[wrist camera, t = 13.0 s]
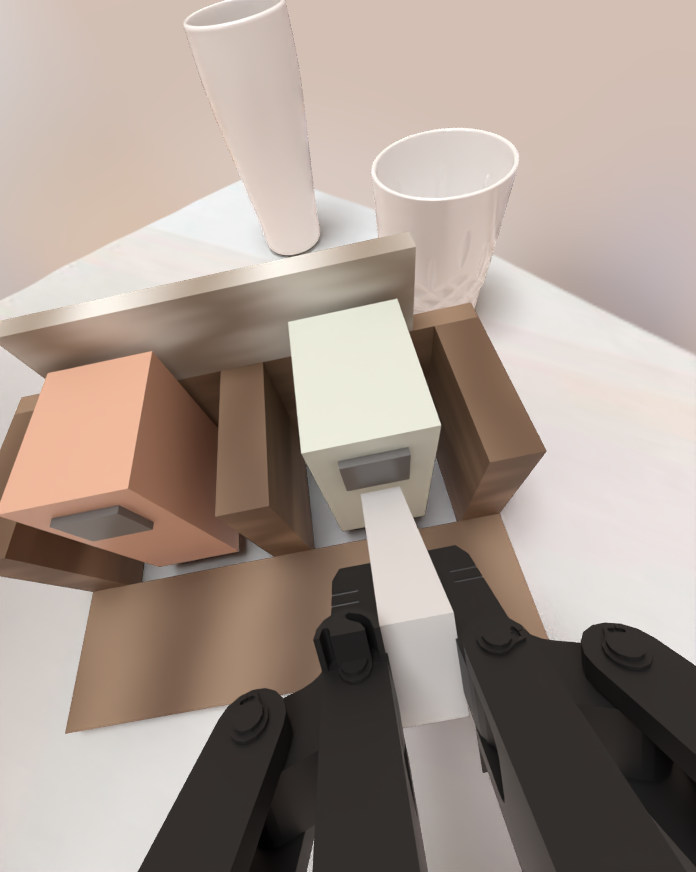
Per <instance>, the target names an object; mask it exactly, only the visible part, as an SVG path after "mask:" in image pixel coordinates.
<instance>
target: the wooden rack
mask: <svg viewBox="0 0 696 872" xmlns="http://www.w3.org/2000/svg"><path fill="white" fill-rule="evenodd" d="M415 258H416V246H415V243H414V241H413V239H412V237H411V234H410V232H409V231H408V232H403V233H399V234H394V235H390V236H385V237H380V238H376V239H371V240H367V241H362V242H358V243H353V244H349V245H344V246H339V247H335V248H330V249H326V250H321V251H317V252H312V253H307V254H303V255H298V256H294V257H289V258H285V259H280V260H276V261H271V262H266V263H262V264H257V265H253V266H248V267H244V268H239V269H234V270H230V271H225V272H221V273H216V274H212V275H207V276H203V277H198V278H193V279H189V280H184V281H180V282H175V283H171V284H166V285H161V286H157V287H152V288H148V289H143V290H139V291H134V292H130V293H125V294H120V295H116V296H111V297H107V298H102V299H98V300H93V301H88V302H84V303H79V304H75V305H70V306H66V307H61V308H57V309H52V310H47V311H43V312H38V313H34V314H29V315H25V316H20V317H15V318H11V319H6V320H2V321H0V346H2V347H3V348H4V349H6V350H7V351H8V352H10V353H11V354H12V355H14V356H15V357H16V358H18V359H19V360H21V361H22V362H23V363H25V364H26V365H27V366H29V367H30V368H31V369H33V370H34V371H35V372H37V373H38V374H39V375H41V376H42V377H43V378H45V379H46V376H47V374H48V373H51V372H56V371H61V370H66V369H70V368H75V367H80V366H84V365H89V364H94V363H98V362H103V361H108V360H112V359H117V358H122V357H126V356H131V355H136V354H140V353H145V352H150V351H153V353H154V354H155V355H156V356H157V357H158V359H159V360H160V361H161V362H162V363H163V364H164V366H165V367H166V368H167V369H168V370H169V371H170V373H171V374H172V375H173V376H174V377H175V378H176V380H177V381H178V382H179V383H180V384H181V386H182V387H183V388H184V389H185V390H186V391H187V393H188V394H189V395H190V396H191V397H192V398H193V400H194V401H195V402H196V403H197V404H198V405H199V407H200V408H201V409H202V410H203V411H204V412H205V414H206V415H207V416H208V417H209V418H210V420H211V421H212V422H213V423H214V424H215V425H216V427H217V428H218V455H217V481H216V508H215V517H216V518H218V519H219V520H221V521H222V522H224V523H225V524H227V525H228V526H230V527H231V528H233V529H234V530H236V531H237V532H238V533H240V534H241V535H243V536H244V537H246V538H247V539H249V540H250V541H252V542H253V543H255V544H256V545H258V546H259V547H261V548H262V549H263V550H265V551H266V552H268V553H269V554H271V555H272V556H274V557H271V558H266V559H261V560H256V561H250V562H245V563H240V564H235V565H230V566H225V567H219V568H214V569H209V570H204V571H199V572H193V573H188V574H183V575H178V576H173V577H167V578H162V579H157V580H152V581H147V582H142V574H143V567H144V562H142V561H139V560H136V559H133V558H129V557H126V556H123V555H120V554H117V553H114V552H110V551H107V550H104V549H101V548H98V547H95V546H91V545H88V544H85V543H82V542H79V541H76V540H72V539H69V538H66V537H63V536H60V535H57V534H54V533H50V532H47V531H44V530H41V529H38V528H35V527H31V526H28V525H25V524H22V523H19V522H16V521H12V520H9V519H6V518H3V517H0V576H2V577H8V578H14V579H20V580H26V581H32V582H38V583H44V584H50V585H56V586H62V587H68V588H74V589H80V590H86V591H92V592H93V596H92V601H91V606H90V611H89V616H88V621H87V626H86V631H85V636H84V641H83V646H82V651H81V656H80V661H79V666H78V672H77V677H76V682H75V687H74V692H73V697H72V702H71V707H70V712H69V717H68V722H67V727H66V732H65V734H67V733H72V732H78V731H83V730H89V729H94V728H100V727H105V726H111V725H116V724H122V723H128V722H133V721H139V720H144V719H150V718H155V717H161V716H166V715H172V714H177V713H183V712H189V711H194V710H200V709H205V708H211V707H216V706H222V705H227V704H232V703H233V702H234V701H235V700H236V699H237V698H238V697H240V696H241V695H243V694H245V693H247V692H249V691H251V690H255V689H261V688H268V689H271V690H275V691H277V692H278V693H279V695H283V694H288V693H294V692H297V691H299V690H301V689H302V688H304V687H306V686H307V685H309V684H310V683H312V682H313V681H314V680H315V679H316V678H317V677H318V676H319V675H320V674H321V672H322V670H321V666H320V663H319V659H318V656H317V652H316V648H315V645H314V641H313V639H314V636H315V632H316V629H317V628H318V627H319V626H320V624H321V623H322V622H323V621H324V620H325V619H326V618H328V617H329V616H331V608H332V606H331V600H332V580H333V579H334V577H335V575H336V574H337V572H338V570H339V569H341V568H346V567H351V566H356V565H361V564H367V563H370V556H369V549H368V542H367V539H365V540H359V541H354V542H349V543H344V544H339V545H333V546H328V547H323V548H318V549H315V548H314V538H313V529H312V520H311V510H310V501H309V491H308V482H307V472H306V463H305V460H304V458H303V456H302V454H301V446H300V436H299V426H298V416H297V406H296V396H295V386H294V376H293V367H292V357H291V347H290V337H289V327H288V322H290V321H295V320H300V319H304V318H309V317H314V316H318V315H323V314H328V313H333V312H337V311H342V310H347V309H351V308H356V307H361V306H365V305H370V304H375V303H379V302H384V301H389V300H393V299H397V300H398V302H399V305H400V308H401V311H402V314H403V317H404V320H405V323H406V325H407V328H408V331H409V334H410V337H411V340H412V343H413V346H414V348H415V351H416V354H417V357H418V360H419V363H420V366H421V368H422V371H423V374H424V377H425V380H426V383H427V386H428V389H429V391H430V394H431V397H432V400H433V403H434V406H435V409H436V412H437V414H438V417H439V420H440V423H441V429H440V435H439V440H438V446H437V451H436V457H437V461H438V464H439V467H440V470H441V473H442V476H443V479H444V482H445V485H446V488H447V492H448V495H449V498H450V501H451V504H452V507H453V510H454V513H455V516H456V520H457V522H453V523H448V524H442V525H437V526H432V527H427V528H422V529H418V530H419V533H420V535H421V537H422V540H423V542H424V544H425V547H426V549H427V550H432V549H437V548H443V547H448V546H453V545H456V546H458V547H459V548H461V549H462V550H464V551H466V552H467V553H469V555H470V556H471V558H472V560H473V561H474V563H475V565H476V567H477V568H478V569H479V571H480V573H481V574H482V577H483V578H484V579H485V581H486V582H487V584H488V585H489V587H490V589H491V590H492V592H493V593H494V595H495V597H496V598H497V600H498V601H499V603H500V605H501V606H502V608H503V609H504V611H505V613H506V614H507V616H508V617H509V618H510V619H512V620H513V621H515V622H517V623H519V624H521V625H522V626H523V627H524V628H525V629H526V630H527V631H528V632H529V633H530V634H531V635H533V636H536V637H539V638H542V639H548V637H547V634H546V632H545V629H544V626H543V624H542V621H541V619H540V616H539V614H538V611H537V609H536V606H535V603H534V601H533V598H532V596H531V593H530V591H529V588H528V585H527V583H526V580H525V578H524V575H523V573H522V570H521V567H520V565H519V562H518V560H517V557H516V555H515V552H514V549H513V547H512V544H511V542H510V539H509V537H508V534H507V532H506V529H505V526H504V524H503V521H502V519H501V516H500V514H499V513H500V512H501V511H502V509H503V508H504V507H505V506H506V504H507V503H508V502H509V500H510V499H511V498H512V496H513V495H514V494H515V492H516V491H517V490H518V488H519V487H520V486H521V484H522V483H523V482H524V480H525V479H526V478H527V476H528V475H529V474H530V472H531V471H532V470H533V468H534V467H535V466H536V465H537V463H538V462H539V461H540V459H541V458H542V457H543V455H544V454H545V453H546V449H545V447H544V445H543V443H542V441H541V439H540V437H539V435H538V433H537V431H536V429H535V427H534V425H533V423H532V421H531V419H530V418H529V416H528V414H527V412H526V410H525V408H524V406H523V404H522V402H521V400H520V398H519V396H518V394H517V392H516V390H515V388H514V386H513V384H512V382H511V380H510V378H509V376H508V374H507V372H506V370H505V368H504V366H503V364H502V362H501V360H500V358H499V357H498V355H497V353H496V351H495V349H494V347H493V345H492V343H491V341H490V339H489V337H488V335H487V333H486V331H485V329H484V327H483V325H482V323H481V321H480V319H479V317H478V315H477V313H476V311H475V309H474V307H473V305H472V303H471V302H470V303H466V304H461V305H456V306H452V307H447V308H442V309H437V310H433V311H428V312H423V313H418V314H414V315H413V312H414V285H415ZM39 395H40V394H36V395H31V396H27V397H22V398H21V400H20V402H19V405H18V407H17V410H16V412H15V415H14V417H13V420H12V422H11V425H10V427H9V430H8V432H7V435H6V437H5V440H4V442H3V445H2V447H1V450H0V501H1V499H2V496H3V493H4V490H5V488H6V485H7V482H8V480H9V477H10V474H11V471H12V469H13V466H14V463H15V461H16V458H17V455H18V452H19V450H20V447H21V444H22V442H23V439H24V436H25V433H26V431H27V428H28V425H29V423H30V420H31V417H32V414H33V412H34V409H35V406H36V403H37V401H38V398H39ZM141 582H142V583H141ZM548 640H549V639H548Z"/></svg>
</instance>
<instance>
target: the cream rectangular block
mask: <svg viewBox="0 0 696 872" xmlns="http://www.w3.org/2000/svg"><path fill="white" fill-rule="evenodd" d="M288 327H289V337H290V347H291V357H292V367H293V376H294V386H295V396H296V406H297V416H298V426H299V436H300V446H301V454H302V456H303V458H304V460H305V462H306V464H307V465H308V467H309V469H310V471H311V473H312V475H313V477H314V479H315V481H316V482H317V484H318V486H319V488H320V490H321V492H322V494H323V496H324V498H325V500H326V501H327V503H328V505H329V507H330V509H331V511H332V513H333V515H334V517H335V519H336V520H337V522H338V524H339V526H340V528H341V530H342V531H347V530H352V529H358V528H363V527H365V521H364V514H363V507H362V500H361V494H363V493H368V492H373V491H378V490H383V489H388V488H393V487H398V486H400V488H401V491H402V493H403V495H404V498H405V500H406V502H407V505H408V507H409V509H410V512H411V514H412V516H413V518H414V517H419V516H425V511H426V506H427V500H428V495H429V489H430V484H431V479H432V473H433V468H434V462H435V457H436V451H437V446H438V440H439V435H440V429H441V423H440V420H439V417H438V414H437V412H436V409H435V406H434V403H433V400H432V397H431V394H430V391H429V389H428V386H427V383H426V380H425V377H424V374H423V371H422V368H421V366H420V363H419V360H418V357H417V354H416V351H415V348H414V346H413V343H412V340H411V337H410V334H409V331H408V328H407V325H406V323H405V320H404V317H403V314H402V311H401V308H400V305H399V302H398V300H397V299H393V300H389V301H384V302H379V303H375V304H370V305H365V306H361V307H356V308H351V309H347V310H342V311H337V312H333V313H328V314H323V315H318V316H314V317H309V318H304V319H300V320H295V321H290V322H288Z"/></svg>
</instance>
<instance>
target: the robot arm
mask: <svg viewBox="0 0 696 872" xmlns="http://www.w3.org/2000/svg"><path fill="white" fill-rule="evenodd" d="M361 500H362V507H363V514H364V521H365V528H366V535H367V542H368V549H369V556H370V563H367V564H361V565H356V566H351V567H346V568H341V569H339V570H338V572H337V574H336V575H335V577H334V579H333V580H332V600H331V606H332V608H331V616H329V617H328V618H326V619H325V620H324V621H323V622H322V623H321V624H320V626H319V627H318V628H317V629H316V632H315V636H314V639H313V641H314V645H315V648H316V652H317V656H318V659H319V663H320V666H321V670H322V672H321V674H320V675H319V676H318V677H317V678H316V679H315V680H314V681H313V682H312V683H310V684H309V685H307V686H306V687H304V688H302V689H301V690H299V691H297V692H295V693H293V694H291V695H289V696H287V697H285V698H282V697H281V696H280V695H279V693H278V692H277V691H275V690H271V689H268V688H261V689H255V690H251V691H249V692H247V693H245V694H243V695H241V696H240V697H238V698H237V699H236V700H235V701H234V702H233V703H232V704H230V705H229V706H228V707H227V709H226V710H225V712H224V713H223V714H222V716H221V717H220V719H219V720H218V722H217V724H216V726H215V728H214V729H213V731H212V733H211V735H210V737H209V739H208V741H207V743H206V744H205V746H204V748H203V750H202V752H201V754H200V756H199V758H198V759H197V761H196V763H195V765H194V767H193V769H192V771H191V773H190V774H189V776H188V778H187V780H186V782H185V784H184V786H183V788H182V790H181V791H180V793H179V795H178V797H177V799H176V801H175V803H174V805H173V806H172V808H171V810H170V812H169V814H168V816H167V818H166V820H165V821H164V823H163V825H162V827H161V829H160V831H159V833H158V835H157V837H156V838H155V840H154V842H153V844H152V846H151V848H150V850H149V852H148V853H147V855H146V857H145V859H144V861H143V863H142V865H141V867H140V868H139V870H138V872H307V868H308V863H309V859H310V854H311V849H312V845H313V840H314V854H313V872H428V869H427V863H426V858H425V852H424V846H423V840H422V834H421V828H420V822H419V816H418V811H417V805H416V799H415V793H414V787H413V781H412V775H411V769H410V764H409V758H408V753H407V749H406V744H405V739H404V733H403V728H408V727H413V726H419V725H424V724H430V723H435V722H441V721H446V720H452V719H458V718H463V717H469V716H470V715H469V709H468V705H469V708H470V711H471V714H472V717H473V719H474V722H475V725H476V731H477V738H478V745H479V751H480V758H481V764H482V771H483V773H485V772H488V774H489V776H490V779H491V782H492V785H493V788H494V791H495V794H496V797H497V800H498V803H499V805H500V808H501V811H502V814H503V817H504V820H505V823H506V826H507V829H508V831H509V834H510V837H511V840H512V843H513V846H514V849H515V852H516V855H517V857H518V860H519V863H520V866H521V869H522V872H696V666H695V665H694V664H692V663H691V662H689V661H688V660H686V659H685V658H683V657H682V656H681V655H679V654H678V653H676V652H675V651H673V650H672V649H670V648H669V647H667V646H666V645H664V644H663V643H661V642H660V641H659V640H657V639H656V638H654V637H652V636H650V635H648V634H647V633H645V632H643V631H641V630H639V629H636V628H633V627H630V626H626V625H623V624H617V623H601V624H596V625H592V626H590V627H589V628H588V629H587V630H585V631H584V632H583V635H582V639H581V643H576V642H565V641H554V640H548V639H542V638H539V637H536V636H533V635H531V634H530V633H529V632H528V631H527V630H526V629H525V628H524V627H523V626H522V625H521V624H519V623H517V622H515V621H513V620H512V619H510V618H509V617H508V616H507V614H506V613H505V611H504V609H503V608H502V606H501V605H500V603H499V601H498V600H497V598H496V597H495V595H494V593H493V592H492V590H491V589H490V587H489V585H488V584H487V582H486V581H485V579H484V578H483V577H482V574H481V573H480V571H479V569H478V568H477V567H476V565H475V563H474V561H473V560H472V558H471V556H470V555H469V553H467V552H466V551H464V550H462V549H461V548H459V547H458V546H456V545H453V546H448V547H443V548H437V549H432V550H427V549H426V547H425V544H424V542H423V540H422V537H421V535H420V533H419V530H418V528H417V526H416V523H415V521H414V519H413V516H412V514H411V512H410V509H409V507H408V505H407V502H406V500H405V498H404V495H403V493H402V491H401V488H400V486H398V487H393V488H388V489H383V490H378V491H373V492H368V493H363V494H361Z"/></svg>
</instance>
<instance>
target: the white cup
mask: <svg viewBox="0 0 696 872" xmlns="http://www.w3.org/2000/svg"><path fill="white" fill-rule="evenodd" d="M518 165H519V153H518V151H517V149H516V147H515V146H514V145H513V144H512V143H511V142H510V141H508V140H507V139H505V138H503V137H502V136H499V135H497V134H494V133H491V132H488V131H484V130H478V129H470V128H444V129H436V130H430V131H425V132H421V133H417V134H414V135H411V136H408V137H405V138H403V139H400V140H398V141H396V142H394V143H393V144H391V145H389V146H388V147H386V148H385V149H384V150H383V151H382V152H380V154H379V155H378V156H377V157H376V158H375V160H374V162H373V164H372V168H371V175H372V184H373V194H374V203H375V213H376V223H377V233H378V238H380V237H385V236H390V235H394V234H399V233H403V232H408V231H409V232H410V234H411V237H412V239H413V241H414V243H415V246H416V258H415V285H414V312H413V315H414V314H418V313H423V312H428V311H433V310H437V309H442V308H447V307H452V306H456V305H461V304H466V303H470V302H471V303H472V305H473V307H474V309H475V306H476V303H477V299H478V295H479V292H480V289H481V286H482V285H483V283H484V281H485V277H486V273H487V270H488V267H489V265H490V261H491V258H492V254H493V250H494V248H495V245H496V242H497V239H498V235H499V231H500V228H501V224H502V220H503V217H504V214H505V210H506V207H507V203H508V199H509V196H510V192H511V189H512V186H513V182H514V179H515V175H516V171H517V168H518Z"/></svg>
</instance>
